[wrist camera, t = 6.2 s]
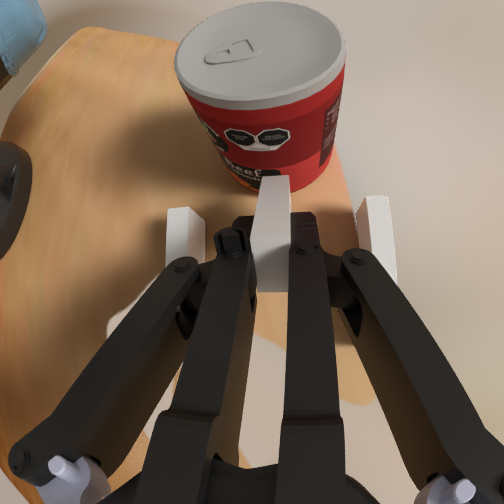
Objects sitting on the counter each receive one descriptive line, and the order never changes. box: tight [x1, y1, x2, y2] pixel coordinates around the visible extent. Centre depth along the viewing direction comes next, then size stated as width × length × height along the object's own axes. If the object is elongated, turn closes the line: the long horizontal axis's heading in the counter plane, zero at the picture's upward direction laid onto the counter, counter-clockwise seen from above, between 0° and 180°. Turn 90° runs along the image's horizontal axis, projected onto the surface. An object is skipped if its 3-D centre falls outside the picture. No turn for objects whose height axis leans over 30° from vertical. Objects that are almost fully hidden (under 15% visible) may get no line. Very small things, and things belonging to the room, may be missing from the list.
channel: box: [165, 196, 397, 308], centre depth 18 cm, size 9×13×4 cm
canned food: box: [174, 2, 346, 193], centre depth 16 cm, size 8×8×11 cm
